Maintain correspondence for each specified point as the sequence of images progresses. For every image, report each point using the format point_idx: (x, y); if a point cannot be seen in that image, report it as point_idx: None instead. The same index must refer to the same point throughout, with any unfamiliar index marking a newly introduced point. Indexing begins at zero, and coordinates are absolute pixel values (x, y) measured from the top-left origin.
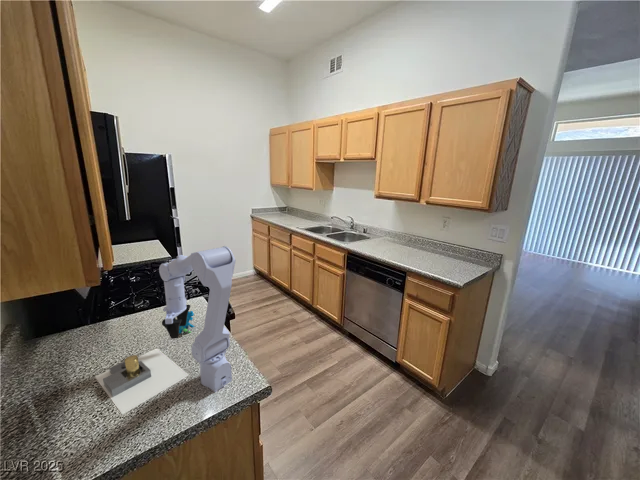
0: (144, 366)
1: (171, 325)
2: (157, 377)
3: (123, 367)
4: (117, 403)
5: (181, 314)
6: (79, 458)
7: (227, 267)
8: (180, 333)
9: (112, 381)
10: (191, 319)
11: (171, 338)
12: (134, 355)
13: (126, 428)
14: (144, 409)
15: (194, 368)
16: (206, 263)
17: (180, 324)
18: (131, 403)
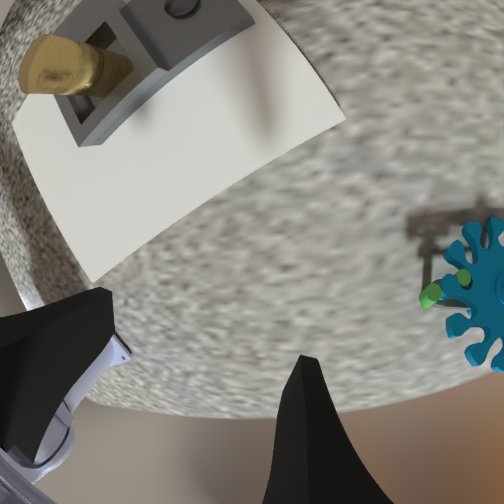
0: (105, 107)
1: (11, 375)
2: (92, 171)
3: (167, 4)
4: None
5: (277, 492)
6: None
7: None
8: (444, 253)
9: (69, 27)
10: (467, 356)
11: (96, 289)
12: (48, 63)
13: (3, 146)
14: (26, 166)
15: (139, 297)
16: None
17: (293, 378)
18: (27, 128)
